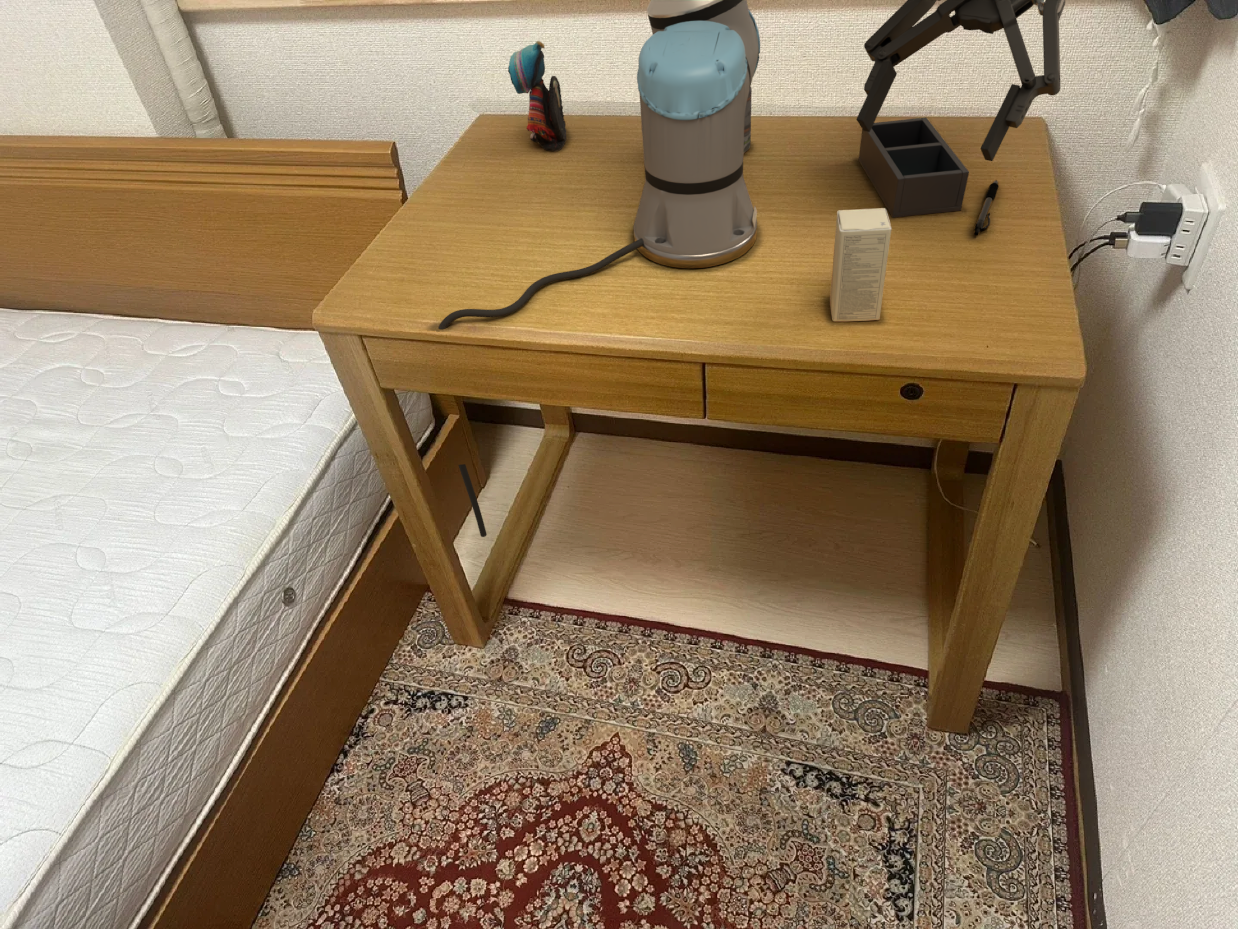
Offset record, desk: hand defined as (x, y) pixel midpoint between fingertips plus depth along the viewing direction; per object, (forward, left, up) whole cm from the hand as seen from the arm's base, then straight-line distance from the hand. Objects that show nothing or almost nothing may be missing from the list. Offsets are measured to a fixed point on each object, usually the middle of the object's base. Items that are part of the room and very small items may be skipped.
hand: (921, 140), depth 87 cm
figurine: (-41, +45, -15) cm, 63 cm away
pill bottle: (-14, +36, -15) cm, 42 cm away
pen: (+14, +11, -15) cm, 23 cm away
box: (-7, -7, -15) cm, 18 cm away
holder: (+7, +20, -15) cm, 26 cm away
